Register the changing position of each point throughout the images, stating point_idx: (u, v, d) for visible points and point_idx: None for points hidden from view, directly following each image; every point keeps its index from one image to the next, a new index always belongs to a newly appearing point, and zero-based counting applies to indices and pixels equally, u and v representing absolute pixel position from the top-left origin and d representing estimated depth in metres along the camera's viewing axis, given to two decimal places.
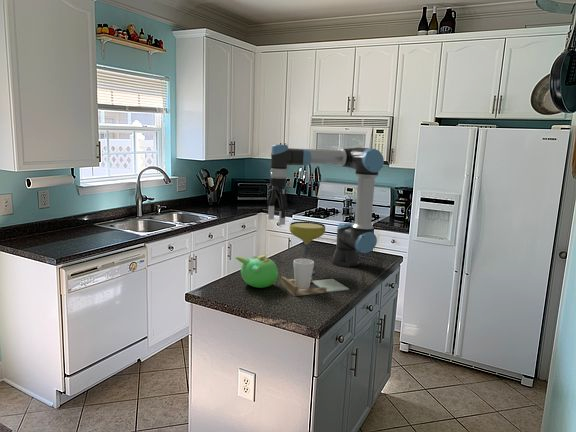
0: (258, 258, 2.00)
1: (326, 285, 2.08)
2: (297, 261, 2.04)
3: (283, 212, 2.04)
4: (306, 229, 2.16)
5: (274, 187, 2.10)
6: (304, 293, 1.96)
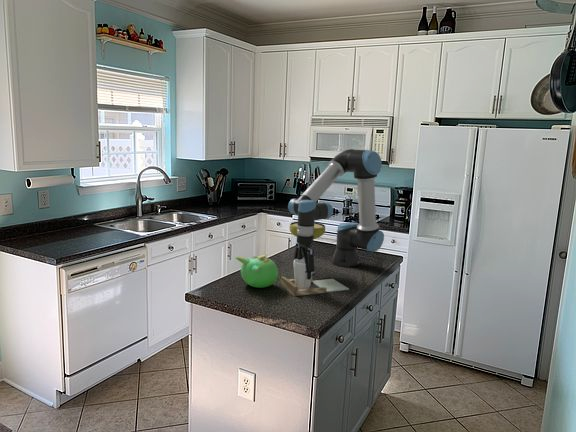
0: (258, 258, 2.00)
1: (326, 285, 2.08)
2: (297, 261, 2.04)
3: (309, 274, 1.96)
4: None
5: (300, 243, 2.01)
6: (304, 293, 1.96)
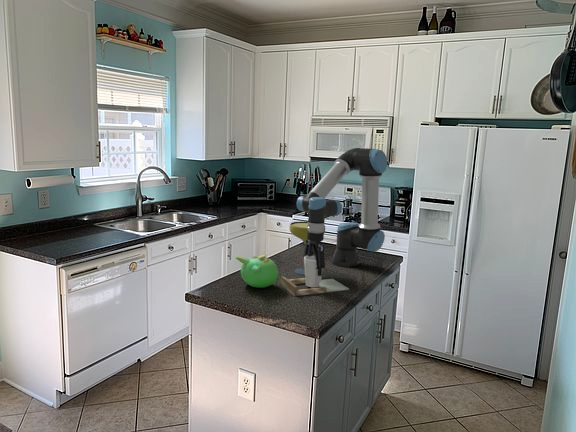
0: (258, 258, 2.00)
1: (326, 285, 2.08)
2: (307, 258, 2.06)
3: (320, 270, 1.98)
4: (306, 229, 2.16)
5: (311, 240, 2.03)
6: (304, 293, 1.96)
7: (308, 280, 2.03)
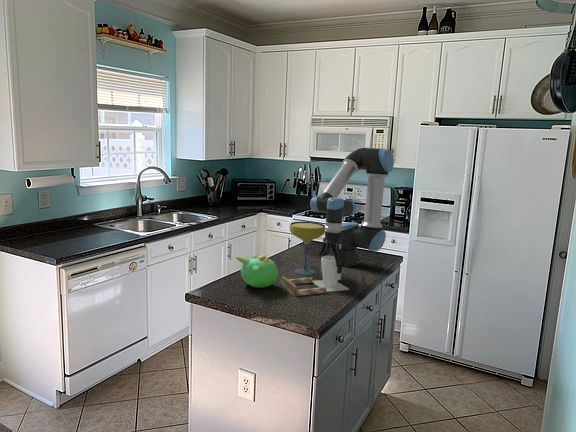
0: (258, 258, 2.00)
1: None
2: (325, 258, 2.10)
3: (339, 268, 2.00)
4: (306, 229, 2.16)
5: (329, 240, 2.07)
6: (304, 293, 1.96)
7: (326, 280, 2.06)
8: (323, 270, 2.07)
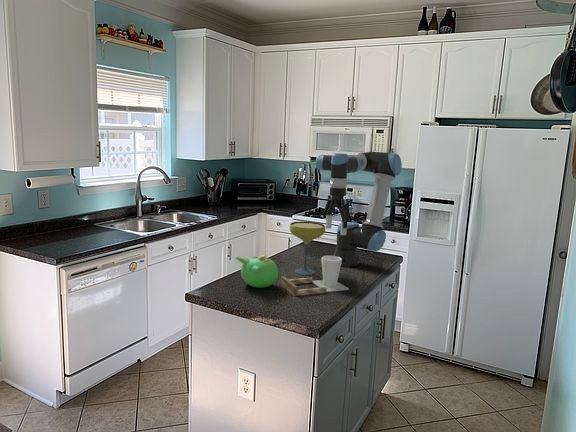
0: (258, 258, 2.00)
1: None
2: (325, 258, 2.10)
3: (345, 222, 2.01)
4: (306, 229, 2.16)
5: (333, 197, 2.07)
6: (304, 293, 1.96)
7: (326, 280, 2.06)
8: (323, 270, 2.07)
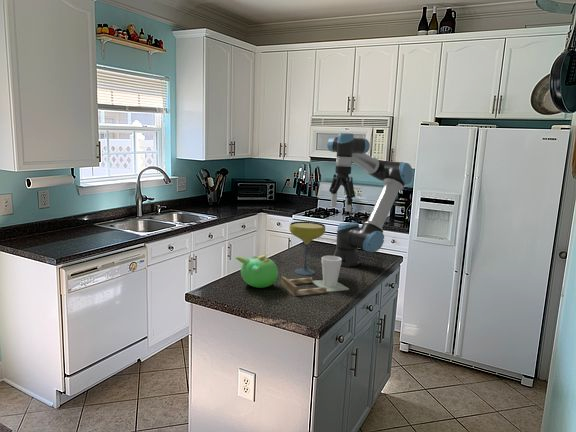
0: (258, 258, 2.00)
1: None
2: (325, 258, 2.10)
3: (350, 199, 2.09)
4: (306, 229, 2.16)
5: (339, 175, 2.16)
6: (304, 293, 1.96)
7: (326, 280, 2.06)
8: (323, 270, 2.07)
